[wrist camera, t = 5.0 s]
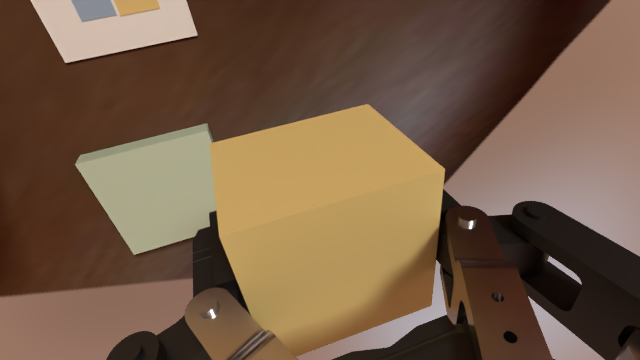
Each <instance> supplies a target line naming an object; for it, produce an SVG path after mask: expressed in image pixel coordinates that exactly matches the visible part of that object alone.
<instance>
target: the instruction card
mask: <svg viewBox="0 0 640 360" xmlns="http://www.w3.org/2000/svg"><path fill="white" fill-rule="evenodd" d="M30 1H31V2H32V4H33V6H34V8H35V9H36V11H37V13H38V15H39V17H40V18H41V20H42V22H43V24H44V26H45V27H46V29H47V31H48V33H49V34H50V36H51V38H52V40H53V42H54V43H55V45H56V47H57V49H58V51H59V52H60V54H61V56H62V58H63V59H64V61H65V63H68V62H73V61H78V60H82V59H87V58H92V57H97V56H102V55H106V54H111V53H116V52H121V51H125V50H130V49H135V48H140V47H145V46H149V45H154V44H159V43H164V42H168V41H173V40H178V39H183V38H188V37H192V36H197V32H196V29H195V26H194V23H193V20H192V16H191V13H190V10H189V7H188V4H187V1H186V0H30Z"/></svg>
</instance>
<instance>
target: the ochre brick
mask: <svg viewBox="0 0 640 360" xmlns="http://www.w3.org/2000/svg"><path fill="white" fill-rule="evenodd" d="M210 153H211V163H212V172H213V182H214V192H215V201H216V211H217V221H218V230H219V238H220V240H221V243H222V245H223V248H224V250H225V252H226V255H227V257H228V260H229V262H230V265H231V267H232V270H233V272H234V275H235V277H236V280H237V282H238V285H239V287H240V290H241V292H242V295H243V297H244V300H245V302H246V305H247V307H248V310H249V312H250V314H251V317H252V318H253V319H254V320H255V321H256V322H257V323H258V324H259V325H260V326H261V328H262V329H263V330H265V331H266V330H270V331H271V332H273V333H274V334H275V335H276V336H277V337H278V339H279V340H280V341H281V342H282V343H283V344H284V345H285V346H286V347H287V348H288V349H289V350H290V351H291V352H292V353H293V354H294V356H295V357H296V356H299V355H302V354H304V353H307V352H309V351H312V350H315V349H317V348H320V347H323V346H325V345H328V344H331V343H333V342H336V341H338V340H341V339H344V338H346V337H349V336H352V335H355V334H357V333H360V332H363V331H365V330H368V329H370V328H373V327H376V326H379V325H381V324H384V323H386V322H389V321H392V320H394V319H397V318H400V317H402V316H405V315H408V314H410V313H413V312H416V311H418V310H421V309H424V308H426V307H429V306H431V304H432V294H433V284H434V274H435V264H436V254H437V244H438V235H439V225H440V215H441V205H442V195H443V185H444V175H445V169H444V168H443V167H442V166H441V165H440V164H438V163H437V162H436V161H435V160H434V159H433V158H431V157H430V156H429V155H428V154H427V153H425V152H424V151H423V150H422V149H421V148H419V147H418V146H417V145H416V144H415V143H413V142H412V141H411V140H410V139H409V138H408V137H406V136H405V135H404V134H403V133H402V132H400V131H399V130H398V129H397V128H396V127H394V126H393V125H392V124H391V123H390V122H388V121H387V120H386V119H385V118H384V117H383V116H381V115H380V114H379V113H378V112H377V111H375V110H374V109H373V108H372V107H371V106H369V105H368V104H366V105H362V106H358V107H354V108H350V109H346V110H342V111H338V112H334V113H330V114H326V115H322V116H318V117H314V118H310V119H306V120H302V121H298V122H294V123H290V124H286V125H282V126H278V127H274V128H270V129H266V130H262V131H258V132H254V133H250V134H246V135H242V136H238V137H234V138H230V139H226V140H222V141H218V142H214V143H210Z"/></svg>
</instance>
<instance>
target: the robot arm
mask: <svg viewBox="0 0 640 360" xmlns="http://www.w3.org/2000/svg"><path fill="white" fill-rule="evenodd" d="M209 221H210V226H209V227H206V228H203V229H199V230H198V232H197V234H196V236H195V238H194V240H193V299H192V300H191V301H190V302H189V304H188V306H187V308H186V310H185V315H184V316H183V317H182V318H181V319H180V320H179V321H178V322H177V323H175V324H174V325H172V326H171V327H169V328H168V329H166V330H164V331H163V332H161V333H160V334H158V335H157V336H156V335H155V334H153V333H151V332H148V331H141V332H137V333H134V334H132V335H129V336H128V337H126V338H124V339H123V340H122V341H121V342H119V343H118V344H117V345H116V346H115V347H114V348H113V350H112V351H111V352H110V354H109V356H108V357H107V360H298V359H297V358H296V357H295V356H294V354H293V353H292V352H291V351H290V350H289V349H288V348H287V347H286V346H285V345H284V344H283V343H282V342H281V341H280V340H279V339H278V337H277V336H276V335H275V334H274V333H273V332H271V331H270V330H266V331H265V330H263V329H262V328H261V326H260V325H259V324H258V323H257V322H256V321H255V320H254V319H253V318H252V317H251V314H250V312H249V310H248V307H247V305H246V302H245V300H244V297H243V295H242V292H241V290H240V287H239V285H238V282H237V280H236V277H235V275H234V272H233V270H232V267H231V265H230V262H229V260H228V257H227V255H226V252H225V250H224V248H223V245H222V243H221V240H220V238H219V230H218V221H217V211H212V212H209ZM549 256H551V257H552V258H554V259H555V260H557V261H558V262H560V263H561V264H563V265H564V266H566V267H567V268H568V269H570V270H571V271H573V272H574V273H575V274H576V275H577V276H578V277H579V278H580V280H581V282H582V285H581V284H579V283H578V282H577V281H576V280H574V279H572V278H571V277H570V276H568V275H567V274H565V273H564V272H563V271H561V270H560V269H558V268H557V267H556V266H554V265H553V264H551V263H550V262H548V261H547V260H548V257H549ZM436 260H437V261H438V262H439V263H440V264H441V266H440V275H441V281H442V287H443V293H444V299H445V305H446V311H447V315H445V316H442V317H440V318H437V319H435V320H432V321H429V322H427V323H424V324H422V325H419V326H417V327H416V328H414V329H413V330H412V331H410V332H409V333H408V334H406V335H405V336H404V337H403V338H401V339H400V340H399V341H397V342H396V343H395V344H393V345H392V346H390V347H388V348H381V349H372V350H363V351H354V352H351V353H348V354H345V355H343V356H340V357H337V358H335V359H332V360H555V359H553V358H552V356H551V354H550V351H549V349H548V346H547V344H546V341H545V338H544V336H543V333H542V331H541V328H540V326H539V324H538V321H537V318H536V316H535V313H534V311H533V308H532V306H531V303H530V301H529V298H528V296H529V297H530V298H531V299H532V300H534V301H535V302H536V303H537V304H538V305H540V306H541V307H542V308H543V309H544V310H546V311H547V312H548V313H549V314H551V315H552V316H553V317H554V318H556V319H557V320H558V321H559V322H560V323H561V324H563V325H564V326H565V327H566V328H568V329H569V330H570V331H571V332H572V333H574V334H575V335H576V336H577V337H579V338H580V339H581V340H582V341H583V342H585V343H586V344H587V345H588V346H589V347H591V348H592V349H593V350H594V351H595V352H597V353H598V354H599V355H600V356H602V357H603V358H604V359H605V360H640V257H639V256H638V255H636V254H634V253H632V252H630V251H629V250H627V249H625V248H624V247H622V246H620V245H618V244H617V243H615V242H613V241H611V240H609V239H608V238H606V237H604V236H602V235H600V234H599V233H597V232H595V231H593V230H592V229H590V228H588V227H587V226H585V225H583V224H581V223H580V222H578V221H576V220H574V219H572V218H571V217H569V216H567V215H565V214H564V213H562V212H560V211H558V210H556V209H555V208H553V207H551V206H549V205H547V204H545V203H541V202H536V201H525V202H521V203H518V204H516V205H515V206H514V208H513V212H512V215H498V216H487V215H486V214H485V213H484V212H483V211H482V210H480V209H478V208H475V207H471V206H461V205H460V204H459V203H458V202H457V201H456V200H455V199H454V198H452V197H451V196H450V195H449V194H448V193H447V192H446V191H445V190H444V189H443V195H442V205H441V215H440V225H439V235H438V244H437V254H436Z"/></svg>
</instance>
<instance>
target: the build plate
mask: <svg viewBox="0 0 640 360" xmlns="http://www.w3.org/2000/svg"><path fill="white" fill-rule="evenodd" d="M210 143H214V141H213V138H212V136H211V133H210V130H209V127H208V125H207V123H206V124H202V125H198V126H194V127H190V128H186V129H182V130H178V131H175V132H171V133H167V134H163V135H159V136H155V137H151V138H147V139H143V140H139V141H135V142H131V143H127V144H123V145H119V146H115V147H111V148H107V149H103V150H99V151H95V152H91V153H87V154H83V155H80V157H79V158H78V160H77V162H76V164H75V165H76V167H77V168H78V170H79V171H80V173H81V174H82V176H83V177H84V179H85V180H86V182H87V184H88V185H89V187H90V188H91V190H92V191H93V193H94V194H95V196H96V197H97V199H98V200H99V202H100V203H101V205H102V206H103V208H104V210H105V211H106V213H107V214H108V216H109V217H110V219H111V220H112V222H113V223H114V225H115V226H116V228H117V229H118V231H119V232H120V234H121V235H122V237H123V239H124V240H125V242H126V243H127V245H128V246H129V248H130V249H131V251H132V252H133V254H134V255H136V254H139V253H142V252H145V251H149V250H152V249H155V248H159V247H162V246H165V245H168V244H172V243H175V242H178V241H182V240H185V239H188V238H192V237H195V236H196V234H197V232H198V230H199V229H203V228H206V227H209V226H210V221H209V212H212V211H216V201H215V192H214V182H213V172H212V163H211V153H210Z"/></svg>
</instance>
